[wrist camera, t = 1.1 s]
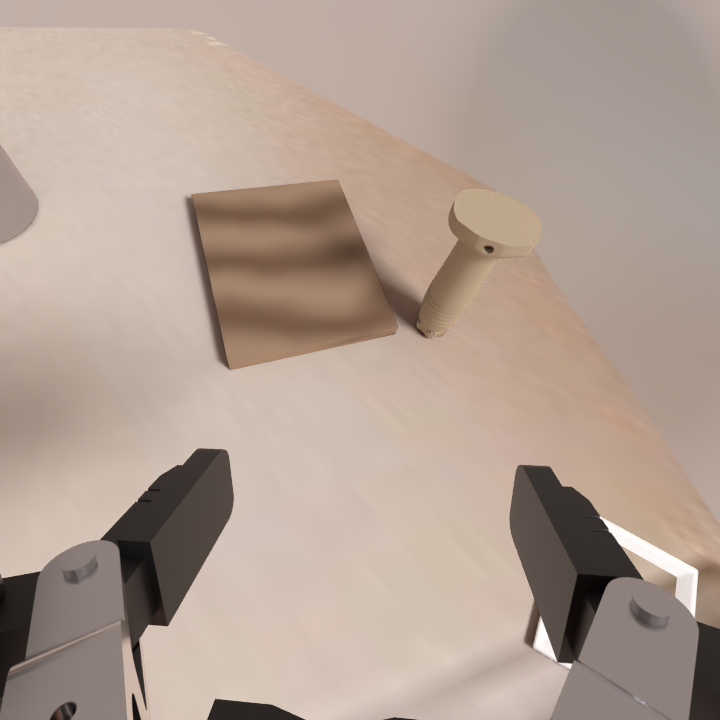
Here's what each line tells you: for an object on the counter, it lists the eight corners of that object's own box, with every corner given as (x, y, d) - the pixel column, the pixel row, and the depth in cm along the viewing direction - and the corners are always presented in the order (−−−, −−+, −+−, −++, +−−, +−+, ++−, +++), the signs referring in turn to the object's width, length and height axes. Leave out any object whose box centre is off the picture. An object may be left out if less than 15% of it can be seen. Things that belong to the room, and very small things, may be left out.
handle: (456, 356, 40) (539, 256, 27) (395, 335, 40) (448, 225, 27) (463, 317, 42) (543, 208, 29) (406, 298, 42) (460, 179, 29)
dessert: (687, 569, 35) (741, 571, 31) (672, 732, 30) (736, 761, 25) (561, 499, 36) (597, 492, 32) (524, 645, 31) (562, 658, 26)
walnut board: (194, 205, 43) (191, 194, 42) (336, 190, 48) (338, 179, 46) (230, 370, 36) (228, 362, 34) (394, 334, 40) (398, 326, 39)
